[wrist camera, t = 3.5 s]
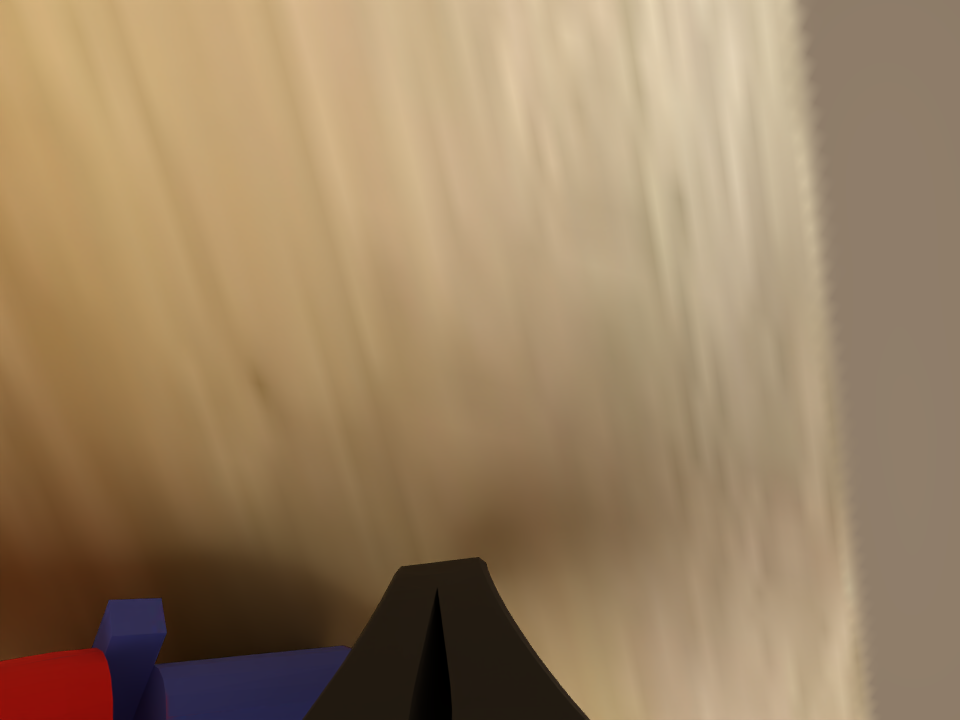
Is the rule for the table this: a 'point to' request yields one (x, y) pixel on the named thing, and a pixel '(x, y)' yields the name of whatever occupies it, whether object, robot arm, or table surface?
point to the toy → (160, 677)
